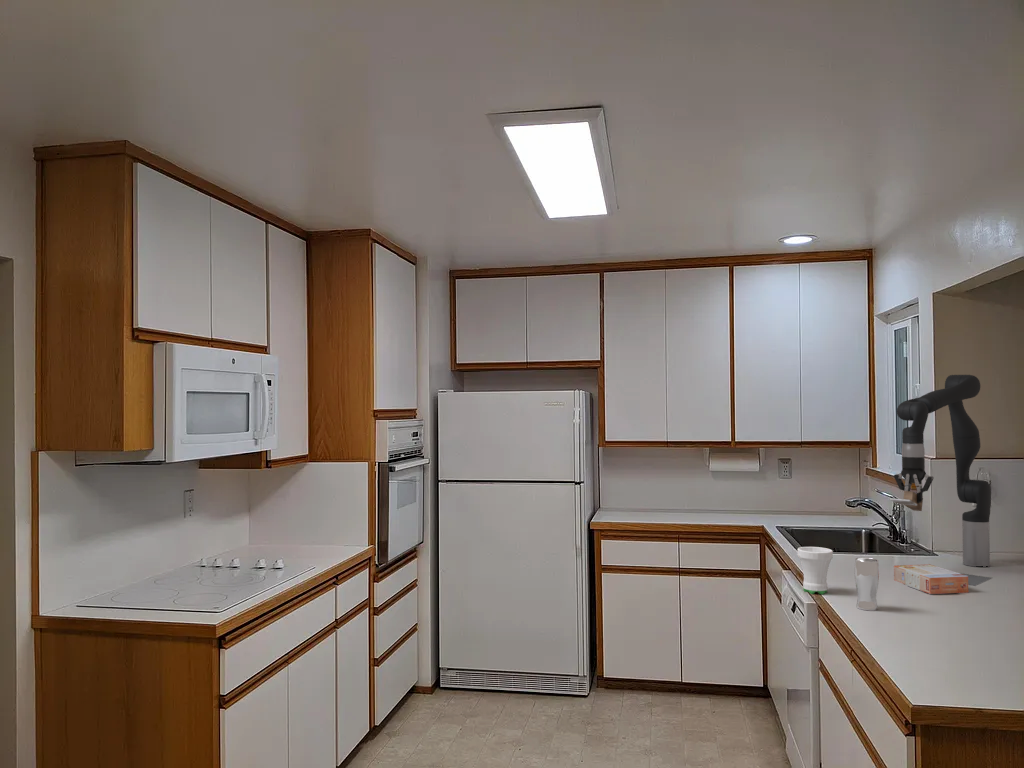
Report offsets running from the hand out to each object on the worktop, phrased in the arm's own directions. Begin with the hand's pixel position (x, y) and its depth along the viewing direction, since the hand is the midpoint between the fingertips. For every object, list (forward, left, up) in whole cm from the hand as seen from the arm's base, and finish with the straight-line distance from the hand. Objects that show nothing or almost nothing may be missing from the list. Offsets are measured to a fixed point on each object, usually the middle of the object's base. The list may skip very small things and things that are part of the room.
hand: (913, 502), depth 299 cm
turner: (+5, 0, -1) cm, 5 cm away
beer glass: (+62, +8, -27) cm, 68 cm away
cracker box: (+11, +3, -24) cm, 26 cm away
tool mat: (-4, +16, -27) cm, 32 cm away
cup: (+53, -13, -27) cm, 61 cm away
